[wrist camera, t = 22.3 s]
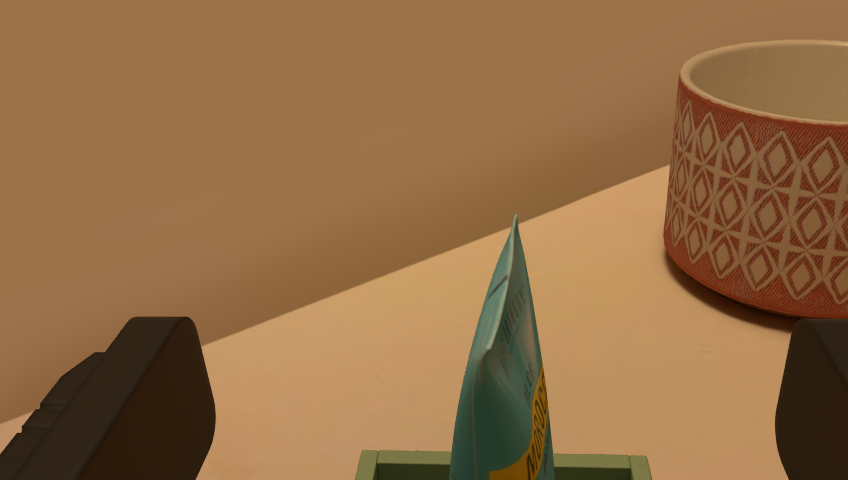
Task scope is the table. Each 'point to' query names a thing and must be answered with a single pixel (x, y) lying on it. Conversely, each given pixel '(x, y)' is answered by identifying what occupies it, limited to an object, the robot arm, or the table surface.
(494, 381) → the tube
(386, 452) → the basket
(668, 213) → the planter
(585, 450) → the table surface
